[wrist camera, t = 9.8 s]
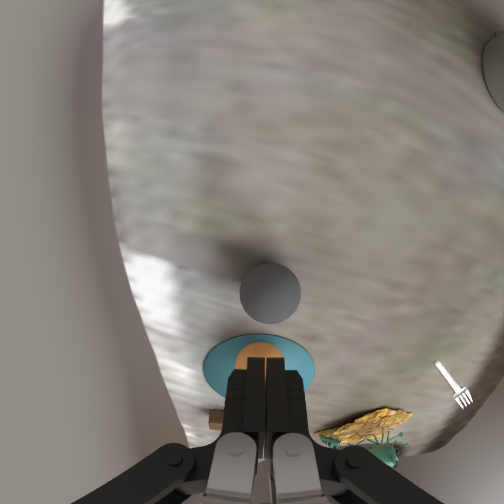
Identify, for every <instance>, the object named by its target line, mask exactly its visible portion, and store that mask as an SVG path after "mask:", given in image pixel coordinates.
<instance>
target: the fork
mask: <svg viewBox="0 0 504 504" xmlns="http://www.w3.org/2000/svg"><path fill="white" fill-rule="evenodd" d="M434 363H435V365H436V366H437V367H438V369H439V370H440V371H441V373H442V374H443V375H444V377H445V378H446V380H447V381H448V382H449V384H450V385H451V387H452V388H453V389H454V391H455V394H454V395H453V397H455V396H456V395H458V394H459V393H460V392H462V391H463V390H464V389H466V387H463V388H460V387H459V386H458V385H457V383H456V382H455V381H454V379H453V378H452V377H451V376H450V374H449V373H448V372H447V370H446V369H445V368H444V367H443V365H442V364H441V363H440V362H439V361H438V360H437V361H435V362H434ZM465 392H466V394H467V395H468V397H469V398H470V400H471V402H473V401H472V398H471V395H470V393H469V391H468V390H466V391H465ZM462 395H463V396H464V397H465V399H466V400H467V402H468V403H469V404H470V402H469V401H468V399H467V397H466V395H465V394H464V393H462ZM459 397H460V398H461V400H462V401H463V403H464V404H465V406H467V405H466V403H465V401H464V399H463V397H462V396H461V395H460V396H459ZM455 400H456V401H457V402H458V404H459V405H460V406H461V407H462V408H463V406H462V404H461V402H460V400H459V399H458V397H457V398H456V399H455Z"/></svg>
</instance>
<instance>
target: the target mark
mask: <svg viewBox="0 0 504 504" xmlns="http://www.w3.org/2000/svg"><path fill="white" fill-rule="evenodd" d="M255 342H266V343H269V344H272V345H274V346H275V347H276V348H278V349H279V350H280V352H281V353H282V355H283V357H284V359H285V370H297V371H298V372H299V374H300V375H301V377H302V379H303V384H304V391H305V390H306V389H307V388H308V386H309V385H310V384H311V382H312V380H313V377H314V373H315V367H314V362H313V359H312V358H311V356H310V354H309V353H308V352H307V351H306V350H305V349H304V348H303V347H302V346H300V345H299V344H297V343H295V342H293V341H291V340H289V339H286V338H283V337H279V336H274V335H266V334H251V335H243V336H239V337H235V338H232V339H229V340H227V341H225V342H223V343H221V344H219V345H218V346H216V347H215V348H214V349H213V350H212V351H211V352H210V353H209V355H208V356H207V358H206V360H205V364H204V375H205V378H206V380H207V382H208V384H209V385H210V386H211V387H212V389H213V390H215V391H216V392H217V393H218V394H220V395H221V396H223V397H225V398H226V391H227V382H228V377H229V376H230V374H231V373H232V371H233V370H234V369H235V362H236V358H237V356H238V354H239V353H240V351H241V350H242V349H243V348H244V347H246V346H247V345H249V344H251V343H255Z"/></svg>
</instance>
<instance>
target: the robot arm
mask: <svg viewBox="0 0 504 504" xmlns="http://www.w3.org/2000/svg"><path fill="white" fill-rule="evenodd" d="M483 72H484V77H485V81H486V84H487V87H488V89H489V92H490V94H491V96H492V98H493V100H494V101H495V103H496V104H497V105H498V107H499V108H500V109H501V110H502V111H503V112H504V30H503V31H497V32H496V36H495V38H494V39H492V40H490V41H489V42H488V43H487V44H486V46H485V49H484V52H483ZM263 447H264V459H268V458H269V459H270V471H269V483H270V494H271V504H328V500H329V501H330V502H332V503H333V504H444V503H442V502H440V501H439V500H437V499H436V498H434V497H433V496H431V495H430V494H428V493H427V492H425V491H424V490H422V489H421V488H419V487H418V486H416V485H415V484H413V483H412V482H411V481H409V480H408V479H406V478H405V477H403V476H402V475H401V474H399V473H398V472H396V471H395V470H394V469H392V468H391V467H390V466H388V465H387V464H386V463H384V462H383V461H381V460H380V459H379V458H377V457H376V456H375V455H374V454H372V453H371V452H370V451H368V450H367V449H365V448H363V447H361V446H348V447H345V448H344V449H342V450H337V449H332V448H327V447H323V446H321V445H319V444H317V443H316V442H315V441H314V440H313V439H312V438H311V436H310V434H309V430H308V421H307V411H306V402H305V393H304V384H303V379H302V377H301V375H300V374H299V372H298V371H297V370H285V359H284V357H267V358H266V374H265V357H247V369H234V370H233V371H232V373H231V374H230V376H229V377H228V382H227V391H226V400H225V407H224V415H223V424H222V431H221V434H220V436H219V437H218V438H217V439H216V440H215V441H214V442H213V443H211V444H209V445H206V446H202V447H196V448H190V449H189V448H187V447H186V446H184V445H182V444H178V443H169V444H166V445H163V446H162V447H160V448H159V449H157V450H156V451H154V452H153V453H152V454H150V455H149V456H147V457H146V458H144V459H143V460H141V461H140V462H138V463H137V464H136V465H134V466H132V467H131V468H129V469H128V470H127V471H125V472H123V473H122V474H120V475H119V476H117V477H115V478H114V479H112V480H111V481H109V482H107V483H106V484H104V485H103V486H101V487H99V488H97V489H96V490H94V491H92V492H91V493H89V494H87V495H85V496H84V497H82V498H80V499H79V500H77V501H75V502H73V503H71V504H187V503H188V502H190V501H191V500H192V499H194V498H195V497H196V496H198V495H199V494H200V493H204V492H205V494H203V496H202V498H201V501H200V504H252V496H253V489H254V481H255V476H256V474H257V467H258V466H257V465H258V459H262V458H263ZM327 499H328V500H327Z"/></svg>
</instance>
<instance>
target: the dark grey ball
mask: <svg viewBox="0 0 504 504" xmlns="http://www.w3.org/2000/svg"><path fill="white" fill-rule="evenodd" d="M300 298H301V290H300V285H299V282H298V279H297V278H296V276H295V275H294V274H293V272H291V271H290V270H289V269H288V268H286V267H285V266H283V265H280V264H276V263H265V264H261V265H258V266H256V267H254V268H253V269H251V270H250V271H249V272H248V273H247V274H246V276H245V277H244V279H243V281H242V283H241V287H240V300H241V304H242V306H243V308H244V310H245V311H246V313H247V314H248V315H249V316H250V317H251V318H253V319H254V320H256V321H258V322H261V323H266V324H275V323H279V322H282V321H284V320H286V319H287V318H289V317H290V316H291V315H292V314H293V313H294V312H295V310H296V309H297V307H298V305H299V302H300Z"/></svg>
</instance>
